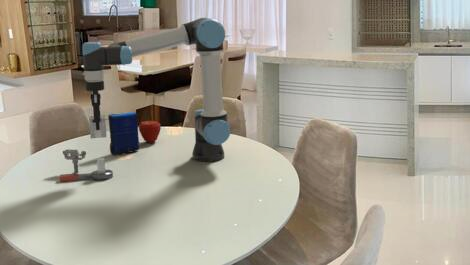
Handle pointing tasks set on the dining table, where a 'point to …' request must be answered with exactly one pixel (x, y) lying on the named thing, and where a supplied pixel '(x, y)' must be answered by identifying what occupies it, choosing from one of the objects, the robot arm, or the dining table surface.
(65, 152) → the mechanical component
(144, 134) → the apple
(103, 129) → the gray rectangular block
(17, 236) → the dining table surface
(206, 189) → the dining table surface
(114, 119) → the blue box
